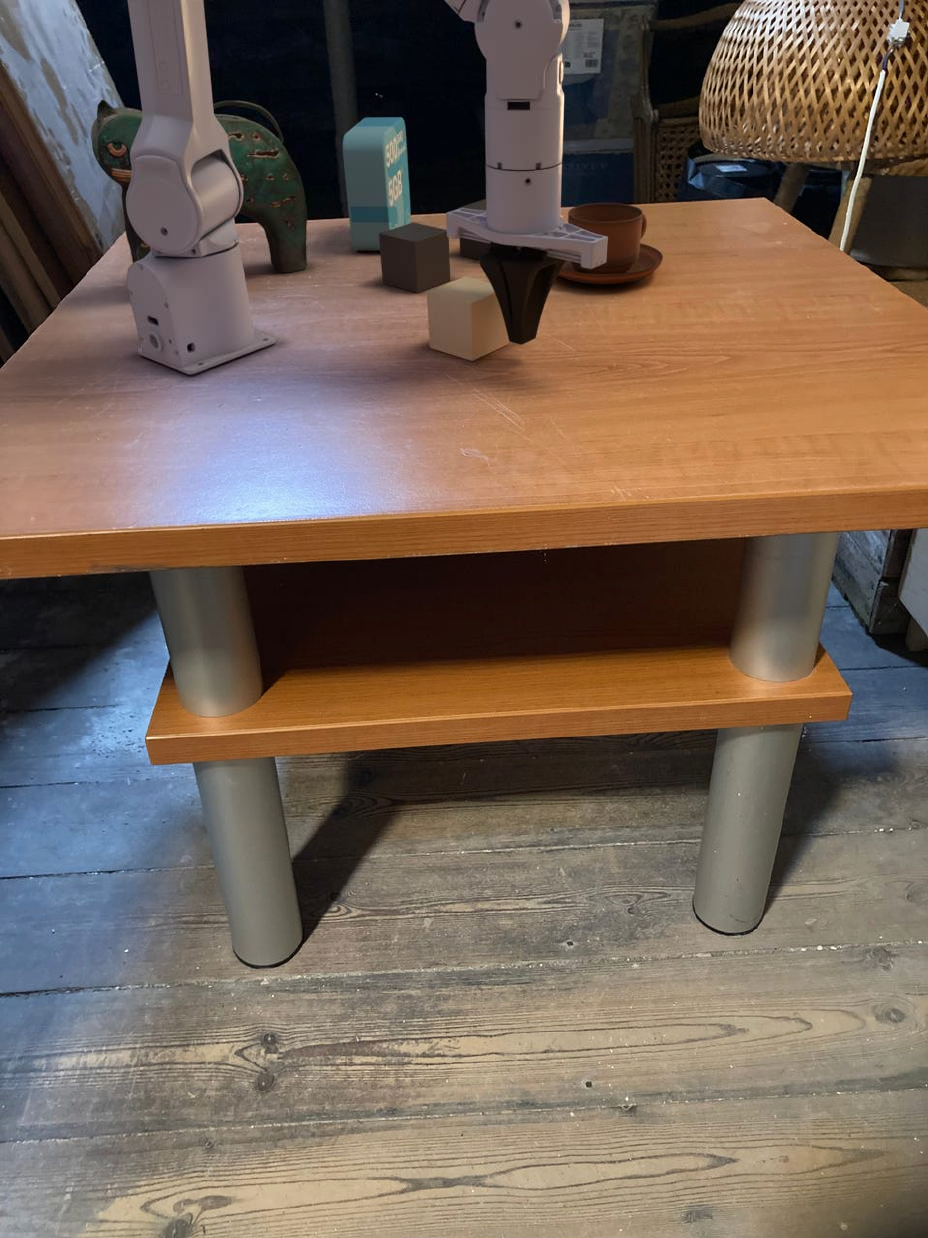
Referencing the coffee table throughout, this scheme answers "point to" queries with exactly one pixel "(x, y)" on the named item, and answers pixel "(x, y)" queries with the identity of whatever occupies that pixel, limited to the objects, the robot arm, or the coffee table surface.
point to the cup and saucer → (613, 244)
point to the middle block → (415, 257)
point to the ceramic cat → (257, 160)
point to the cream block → (465, 319)
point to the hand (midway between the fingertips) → (522, 339)
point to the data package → (376, 179)
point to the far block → (473, 246)
